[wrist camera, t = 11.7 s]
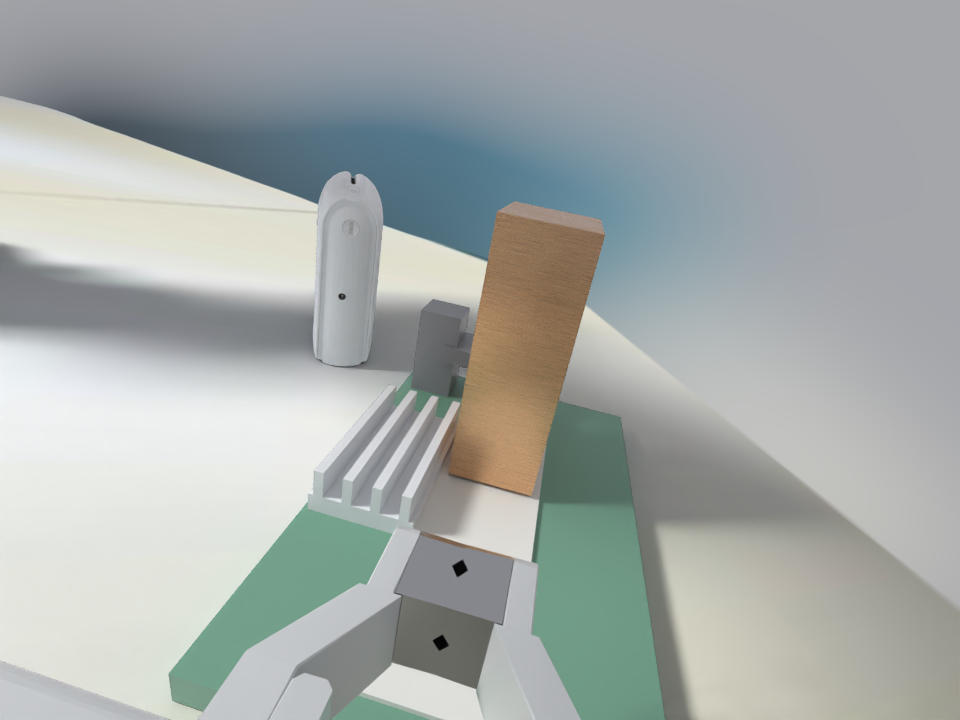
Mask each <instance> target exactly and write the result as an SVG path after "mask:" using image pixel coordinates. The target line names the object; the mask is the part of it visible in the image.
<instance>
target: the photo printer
mask: <svg viewBox="0 0 960 720" xmlns="http://www.w3.org/2000/svg"><path fill="white" fill-rule="evenodd" d="M382 230H383V211H382V204H381V200H380V197H379V194H378V192H377V190H376V188H375V186H374V185H373V184H372V183H371V181H370V180H369V179H367V178H366V177H365V176H363V175H362V174H357V175H356V176H355V177H351V174H350V173H349V172H347V171H345V172H340V173H338V174H336V175H335V176H333V177H332V178H331V179H330V180H328V181H327V183H326V185H325V187H324V188H323V190H322V193H321V196H320V200H319V204H318V217H317V252H316V277H315V301H314V323H313V348H314V354H315V357H316V358H317V359H321V360H322V362H323V363H325V364H329V365H334V366H356V365H359V364H361V362H365V361H366V360H367V358H368V356H369V352H370V348H371V342H372V333H373V324H374V315H375V305H376V294H377V283H378V273H379V262H380V251H381V240H382Z"/></svg>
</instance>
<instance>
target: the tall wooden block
mask: <svg viewBox="0 0 960 720" xmlns="http://www.w3.org/2000/svg"><path fill="white" fill-rule="evenodd" d="M604 237H605V232H604V229H603V226H602V223H601V220H600V219H596V218H591V217H586V216H581V215H576V214H572V213H567V212H562V211H557V210H553V209H548V208H543V207H538V206H534V205H529V204H524V203H519V202H513V203H511V204H509V205H508V206H506V207H504V208H503V209H501V210H499V211H497V216H496V221H495V226H494V231H493V237H492V242H491V247H490V253H489V258H488V263H487V269H486V274H485V279H484V285H483V290H482V295H481V301H480V306H479V311H478V317H477V322H476V327H475V333H474V338H473V343H472V349H471V354H470V359H469V365H468V370H467V375H466V381H465V386H464V391H463V397H462V402H461V407H460V413H459V418H458V423H457V429H456V434H455V439H454V445H453V450H452V455H451V461H450V466H449V471H448V473H450V474H453V475H457V476H461V477H464V478H468V479H471V480H475V481H479V482H482V483H486V484H490V485H493V486H497V487H500V488H504V489H508V490H511V491H515V492H519V493H522V494H526V495H529V496H532V492H533V489H534V485H535V482H536V478H537V475H538V471H539V468H540V464H541V460H542V457H543V453H544V450H545V446H546V443H547V439H548V436H549V432H550V429H551V425H552V421H553V418H554V414H555V411H556V407H557V404H558V400H559V397H560V393H561V390H562V386H563V382H564V379H565V375H566V372H567V368H568V365H569V361H570V358H571V354H572V350H573V347H574V343H575V340H576V336H577V333H578V329H579V326H580V322H581V319H582V315H583V311H584V308H585V304H586V301H587V297H588V294H589V290H590V286H591V283H592V279H593V276H594V272H595V269H596V265H597V262H598V258H599V255H600V251H601V247H602V244H603V241H604Z"/></svg>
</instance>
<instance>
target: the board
mask: <svg viewBox="0 0 960 720" xmlns="http://www.w3.org/2000/svg"><path fill="white" fill-rule="evenodd" d="M469 311H470V308H468V307H464V306H460V305H455V304H451V303H447V302H443V301H439V300H434V299H433V300H432V301H431V302H430V303H429V304H428V305H426V306H425V307H424V308H423V309H422V311H421V318H420V326H419V333H418V341H417V348H416V355H415V363H414V370H413V372H412V374H411V375H410V376H409V377H408V379H407V380H406V381H405V382H404V384H403V385H402V386H401V387H400V388H399V390H398V391H397V392H396V386H393V385H390V384H389V385H388V386H387V387H386V389H385V390H384V391H383V392H382V393H381V394H380V396H379V397H378V398H377V399H376V400H375V401H374V402H373V404H372V405H371V406H370V407H369V408H368V409H367V410H366V412H365V413H364V414H363V415H362V416H361V417H360V418H359V420H358V421H357V422H356V423H355V424H354V425H353V427H352V428H351V429H350V430H349V431H348V432H347V433H346V435H345V436H344V437H343V438H342V439H341V440H340V441H339V443H338V444H337V445H336V446H335V447H334V448H333V450H332V451H331V452H330V453H329V454H328V455H327V456H326V458H325V459H324V460H323V461H322V462H321V463H320V464H319V466H318V467H317V468H316V469H315V470H314V483H313V488H312V490H311V491H310V492H309V493H308V502H307V503H306V505H305V506H304V507H303V508H302V510H301V511H300V512H299V513H298V515H297V516H296V517H295V518H294V520H293V521H292V522H291V523H290V524H289V526H288V527H287V528H286V529H285V531H284V532H283V533H282V534H281V536H280V537H279V538H278V539H277V541H276V542H275V543H274V544H273V545H272V547H271V548H270V549H269V550H268V552H267V553H266V554H265V555H264V557H263V558H262V559H261V560H260V562H259V563H258V564H257V565H256V566H255V568H254V569H253V570H252V571H251V573H250V574H249V575H248V576H247V578H246V579H245V580H244V581H243V583H242V584H241V585H240V586H239V588H238V589H237V590H236V591H235V592H234V594H233V595H232V596H231V597H230V599H229V600H228V601H227V602H226V604H225V605H224V606H223V607H222V609H221V610H220V611H219V612H218V613H217V615H216V616H215V617H214V618H213V620H212V621H211V622H210V623H209V625H208V626H207V627H206V628H205V630H204V631H203V632H202V633H201V634H200V636H199V637H198V638H197V639H196V641H195V642H194V643H193V644H192V646H191V647H190V648H189V649H188V651H187V652H186V653H185V654H184V655H183V657H182V658H181V659H180V660H179V662H178V663H177V664H176V665H175V667H174V668H173V669H172V670H171V672H170V673H169V680H170V688H171V695H172V701H175V702H178V703H181V704H183V705H186V706H189V707H192V708H195V709H198V710H200V711H203V712H204V710H205V709H206V707H207V706H208V704H209V703H210V702H211V700H212V699H213V697H214V696H215V694H216V693H217V691H218V690H219V689H220V687H221V686H222V684H223V683H224V681H225V680H226V678H227V677H228V676H229V674H230V673H231V671H232V670H233V668H234V667H235V666H236V664H237V663H238V661H239V660H240V658H241V657H242V655H243V654H244V653H245V651H246V650H248V649H249V648H251V647H253V646H254V645H256V644H258V643H259V642H261V641H263V640H264V639H266V638H268V637H269V636H271V635H273V634H275V633H276V632H278V631H280V630H281V629H283V628H285V627H286V626H288V625H290V624H291V623H293V622H295V621H296V620H298V619H300V618H302V617H303V616H305V615H307V614H308V613H310V612H312V611H313V610H315V609H317V608H318V607H320V606H322V605H323V604H325V603H327V602H329V601H330V600H332V599H334V598H335V597H337V596H339V595H340V594H342V593H344V592H345V591H347V590H349V589H350V588H352V587H354V586H356V585H357V584H359V583H361V584H365V585H367V583H368V581H369V579H370V577H371V575H372V574H373V572H374V570H375V568H376V566H377V564H378V562H379V560H380V558H381V556H382V554H383V552H384V550H385V548H386V546H387V544H388V542H389V540H390V538H391V536H392V534H393V532H394V530H395V529H396V528H397V527H398V526H399V525H403V526H406V527H409V528H412V529H415V530H419V531H424V532H427V533H430V534H433V535H437V536H440V537H443V538H446V539H449V540H453V541H456V542H459V543H462V544H465V545H470V546H474V547H477V548H481V549H485V550H488V551H492V552H496V553H499V554H503V555H507V556H510V557H513V559H514V558H518V559H522V560H525V561H529V562H533V563H536V564H538V567H539V572H538V582H537V591H536V601H535V611H534V621H533V631H532V635H534V636H537V637H540V639H541V641H542V643H543V645H544V647H545V649H546V651H547V653H548V655H549V657H550V659H551V661H552V663H553V665H554V667H555V669H556V671H557V673H558V675H559V677H560V679H561V681H562V683H563V685H564V687H565V689H566V691H567V693H568V695H569V697H570V699H571V701H572V703H573V705H574V707H575V709H576V711H577V713H578V715H579V717H580V719H581V720H665V716H664V709H663V702H662V695H661V688H660V682H659V675H658V668H657V661H656V655H655V648H654V641H653V634H652V628H651V621H650V614H649V607H648V601H647V594H646V587H645V580H644V574H643V567H642V560H641V553H640V546H639V540H638V533H637V526H636V519H635V513H634V506H633V499H632V492H631V486H630V479H629V472H628V465H627V459H626V452H625V445H624V438H623V432H622V425H621V418H620V417H618V416H614V415H610V414H606V413H602V412H598V411H594V410H590V409H587V408H583V407H579V406H575V405H571V404H567V403H563V402H559V401H558V404H557V407H556V411H555V414H554V418H553V421H552V425H551V429H550V432H549V436H548V439H547V443H546V446H545V450H544V453H543V457H542V460H541V464H540V468H539V471H538V475H537V478H536V482H535V485H534V489H533V492H532V496H529V495H526V494H522V493H519V492H515V491H511V490H508V489H504V488H500V487H497V486H493V485H490V484H486V483H482V482H479V481H475V480H471V479H468V478H464V477H461V476H457V475H453V474H450V473H448V471H449V466H450V461H451V455H452V450H453V445H454V439H455V434H456V429H457V423H458V418H459V413H460V407H461V402H462V397H463V391H464V386H465V381H466V378H464V377H460V376H458V372H459V367H464V368H468V365H469V359H470V354H471V349H472V343H473V338H474V335H473V334H469V333H466V328H467V322H468V316H469ZM395 392H396V393H395ZM434 674H435V673H434ZM434 674H430V673H427V672H423V671H420V670H416V669H413V668H409V667H405V666H402V665H398V664H395V663H391V666H390V667H389V668H388V669H387V670H386V671H385V672H383V673H382V674H381V675H380V676H379V677H378V678H377V679H376V680H375V681H374V682H372V683H371V684H370V685H369V686H368V687H367V688H366V689H365V690H364V691H362V692H361V693H360V694H359V695H358V696H357V697H356V698H355V699H354V700H353V701H351V702H350V703H349V704H348V705H347V706H346V707H345V708H344V709H343V710H341V711H340V712H339V713H338V714H337V715H336V716H335V717H334V718H333V719H332V720H484V719H483V715H482V712H481V708H480V705H479V701H478V697H477V694H476V690H477V689H474V688H471V687H468V686H465V685H462V684H459V683H457V682H454V681H451V680H448V679H445V678H442V677H439V676H437V675H434Z"/></svg>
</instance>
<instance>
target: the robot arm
mask: <svg viewBox="0 0 960 720" xmlns="http://www.w3.org/2000/svg"><path fill="white" fill-rule="evenodd" d="M538 572H539V567H538V564H536V563H533V562H529V561H525V560H522V559H518V558H514V559H513V557H510V556H507V555H503V554H499V553H496V552H492V551H488V550H485V549H481V548H477V547H474V546H470V545H465V544H462V543H459V542H456V541H453V540H449V539H446V538H443V537H440V536H437V535H433V534H430V533H427V532H424V531H419V530H415V529H412V528H409V527H406V526H403V525H399V526H398V527H397V528H396V529H395V530H394V532H393V534H392V536H391V538H390V540H389V542H388V544H387V546H386V548H385V550H384V552H383V554H382V556H381V558H380V560H379V562H378V564H377V566H376V568H375V570H374V572H373V574H372V575H371V577H370V579H369V581H368V583H367V585H365V584H361V583H359V584H357V585H356V586H354V587H352V588H350V589H349V590H347V591H345V592H344V593H342V594H340V595H339V596H337V597H335V598H334V599H332V600H330V601H329V602H327V603H325V604H323V605H322V606H320V607H318V608H317V609H315V610H313V611H312V612H310V613H308V614H307V615H305V616H303V617H302V618H300V619H298V620H296V621H295V622H293V623H291V624H290V625H288V626H286V627H285V628H283V629H281V630H280V631H278V632H276V633H275V634H273V635H271V636H269V637H268V638H266V639H264V640H263V641H261V642H259V643H258V644H256V645H254V646H253V647H251V648H249V649H248V650H246V651H245V653H244V654H243V655H242V657H241V658H240V660H239V661H238V663H237V664H236V666H235V667H234V668H233V670H232V671H231V673H230V674H229V676H228V677H227V678H226V680H225V681H224V683H223V684H222V686H221V687H220V689H219V690H218V691H217V693H216V694H215V696H214V697H213V699H212V700H211V702H210V703H209V704H208V706H207V707H206V709H205V710H204V712H203V713H202V714H201V716H200V717H199V719H198V720H332V719H333V718H334V717H335V716H336V715H337V714H338V713H339V712H340V711H341V710H343V709H344V708H345V707H346V706H347V705H348V704H349V703H350V702H351V701H353V700H354V699H355V698H356V697H357V696H358V695H359V694H360V693H361V692H362V691H364V690H365V689H366V688H367V687H368V686H369V685H370V684H371V683H372V682H374V681H375V680H376V679H377V678H378V677H379V676H380V675H381V674H382V673H383V672H385V671H386V670H387V669H388V668H389V667H390V666H391V663H395V664H398V665H402V666H405V667H409V668H413V669H416V670H420V671H423V672H427V673H430V674H434V673H435V674H434V675H437V676H439V677H442V678H445V679H448V680H451V681H454V682H457V683H459V684H462V685H465V686H468V687H471V688H474V689H477V690H476V694H477V697H478V701H479V705H480V708H481V712H482V715H483V719H484V720H581V719H580V717H579V715H578V713H577V711H576V709H575V707H574V705H573V703H572V701H571V699H570V697H569V695H568V693H567V691H566V689H565V687H564V685H563V683H562V681H561V679H560V677H559V675H558V673H557V671H556V669H555V667H554V665H553V663H552V661H551V659H550V657H549V655H548V653H547V651H546V649H545V647H544V645H543V643H542V641H541V639H540V637H537V636H534V635H532V631H533V621H534V611H535V601H536V591H537V582H538ZM0 720H170V719H167V718H164V717H161V716H158V715H155V714H152V713H149V712H147V711H144V710H141V709H138V708H135V707H132V706H129V705H126V704H124V703H121V702H118V701H115V700H112V699H109V698H106V697H104V696H101V695H98V694H95V693H92V692H89V691H86V690H83V689H81V688H78V687H75V686H72V685H69V684H66V683H63V682H61V681H58V680H55V679H52V678H49V677H46V676H43V675H40V674H38V673H35V672H32V671H29V670H26V669H23V668H20V667H18V666H15V665H12V664H9V663H6V662H3V661H0Z"/></svg>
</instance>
